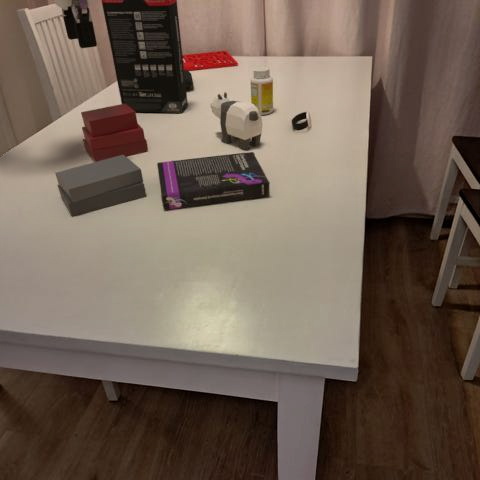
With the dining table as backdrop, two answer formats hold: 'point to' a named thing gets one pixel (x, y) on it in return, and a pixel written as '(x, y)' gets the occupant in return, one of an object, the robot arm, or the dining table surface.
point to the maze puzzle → (208, 60)
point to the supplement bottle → (262, 90)
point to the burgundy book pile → (115, 144)
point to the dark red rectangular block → (109, 120)
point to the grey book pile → (100, 184)
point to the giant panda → (238, 121)
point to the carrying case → (188, 80)
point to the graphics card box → (147, 54)
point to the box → (211, 180)
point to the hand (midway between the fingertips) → (82, 42)
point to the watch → (304, 124)
